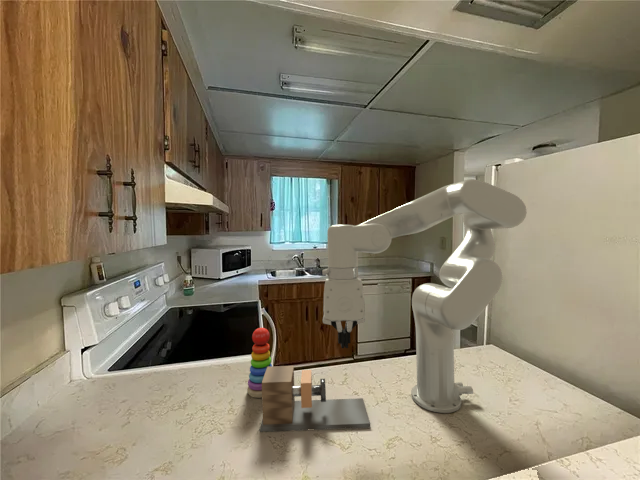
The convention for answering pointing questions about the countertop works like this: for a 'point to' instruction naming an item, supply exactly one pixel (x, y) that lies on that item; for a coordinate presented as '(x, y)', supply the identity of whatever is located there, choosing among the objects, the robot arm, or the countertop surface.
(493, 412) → the countertop surface
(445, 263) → the robot arm
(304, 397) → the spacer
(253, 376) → the stacking toy
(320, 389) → the shaft
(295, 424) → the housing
